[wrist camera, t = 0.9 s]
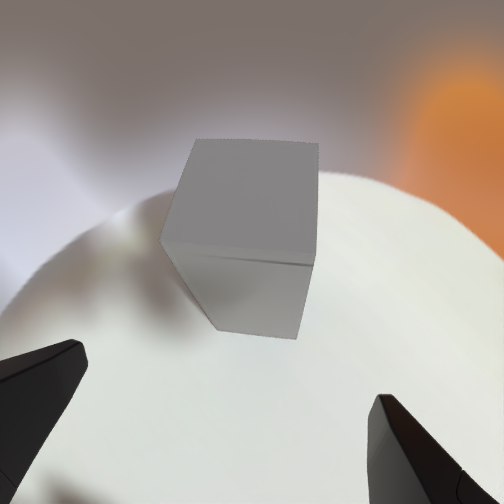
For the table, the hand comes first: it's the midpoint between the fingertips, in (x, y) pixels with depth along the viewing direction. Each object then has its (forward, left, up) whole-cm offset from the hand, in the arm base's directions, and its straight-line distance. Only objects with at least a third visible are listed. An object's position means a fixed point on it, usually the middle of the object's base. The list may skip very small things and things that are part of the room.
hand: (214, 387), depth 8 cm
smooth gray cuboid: (+7, +4, -14) cm, 16 cm away
